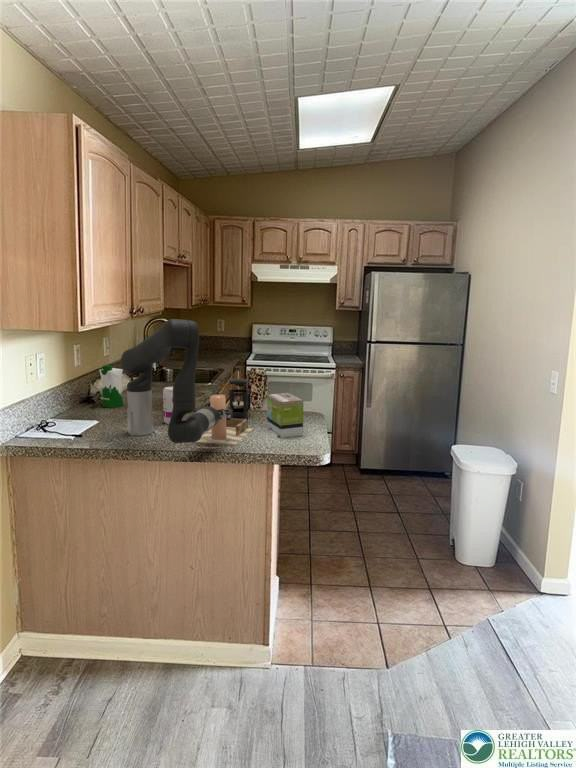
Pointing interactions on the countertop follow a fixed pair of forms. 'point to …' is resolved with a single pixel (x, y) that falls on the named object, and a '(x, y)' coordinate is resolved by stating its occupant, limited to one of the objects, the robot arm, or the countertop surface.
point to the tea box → (285, 414)
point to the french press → (238, 412)
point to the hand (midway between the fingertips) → (221, 409)
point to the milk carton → (111, 387)
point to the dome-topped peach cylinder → (220, 427)
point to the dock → (229, 432)
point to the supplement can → (167, 404)
